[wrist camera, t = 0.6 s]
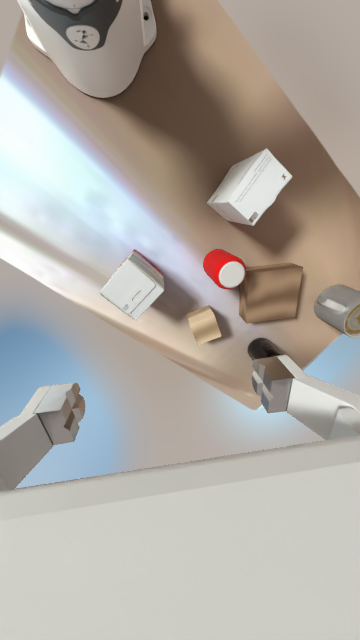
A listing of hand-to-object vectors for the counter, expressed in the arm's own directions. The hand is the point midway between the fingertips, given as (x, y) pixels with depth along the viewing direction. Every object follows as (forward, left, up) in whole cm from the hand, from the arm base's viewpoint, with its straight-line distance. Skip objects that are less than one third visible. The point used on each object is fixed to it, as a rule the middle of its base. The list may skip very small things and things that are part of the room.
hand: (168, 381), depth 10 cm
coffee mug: (+17, +43, -41) cm, 62 cm away
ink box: (+5, -5, -42) cm, 42 cm away
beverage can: (+4, +13, -41) cm, 43 cm away
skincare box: (-9, +16, -41) cm, 45 cm away
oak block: (+18, +9, -41) cm, 46 cm away
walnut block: (+12, +25, -41) cm, 49 cm away
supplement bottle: (+29, +25, -41) cm, 56 cm away
